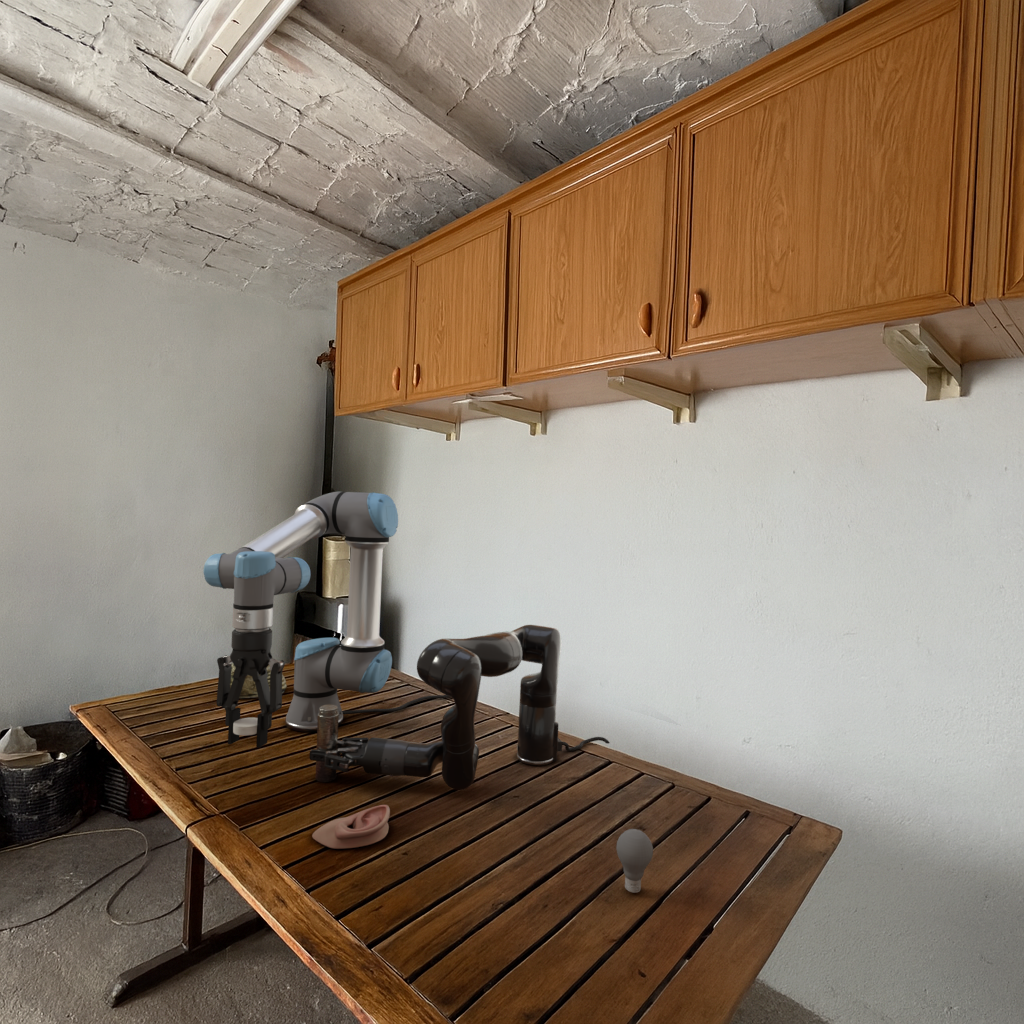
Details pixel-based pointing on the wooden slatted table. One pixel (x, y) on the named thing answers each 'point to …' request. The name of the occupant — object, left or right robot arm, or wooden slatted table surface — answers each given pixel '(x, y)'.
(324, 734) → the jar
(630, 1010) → the wooden slatted table surface
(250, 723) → the lid
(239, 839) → the wooden slatted table surface
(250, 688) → the fossil
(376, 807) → the anatomical model
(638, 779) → the wooden slatted table surface
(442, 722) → the right robot arm
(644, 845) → the light bulb
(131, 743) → the wooden slatted table surface
